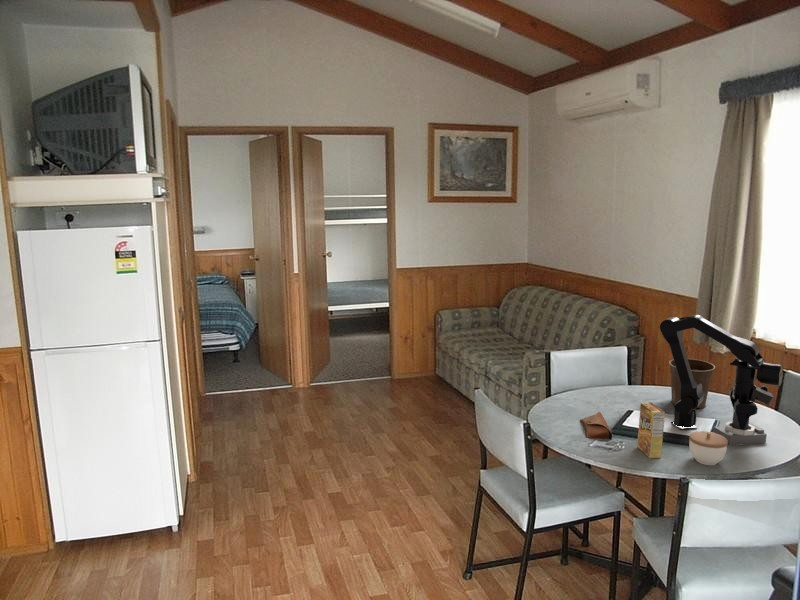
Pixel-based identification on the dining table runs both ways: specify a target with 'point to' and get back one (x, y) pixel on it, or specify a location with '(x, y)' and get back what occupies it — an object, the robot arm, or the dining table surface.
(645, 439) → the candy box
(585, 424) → the sunglasses case
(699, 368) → the plant pot
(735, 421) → the lens
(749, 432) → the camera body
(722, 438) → the lidded jar
